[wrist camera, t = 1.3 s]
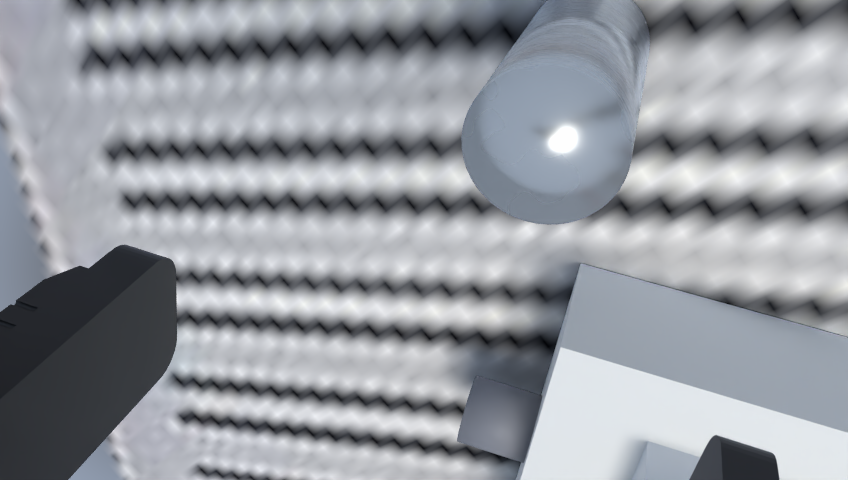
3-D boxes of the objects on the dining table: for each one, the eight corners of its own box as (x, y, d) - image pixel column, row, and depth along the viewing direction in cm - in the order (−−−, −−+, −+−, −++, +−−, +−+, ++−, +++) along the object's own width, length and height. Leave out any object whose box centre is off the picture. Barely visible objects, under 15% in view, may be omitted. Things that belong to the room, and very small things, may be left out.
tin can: (666, -2, 27) (654, 88, 19) (630, 115, 29) (606, 242, 21) (542, -29, 28) (477, 47, 19) (517, 87, 30) (449, 200, 22)
